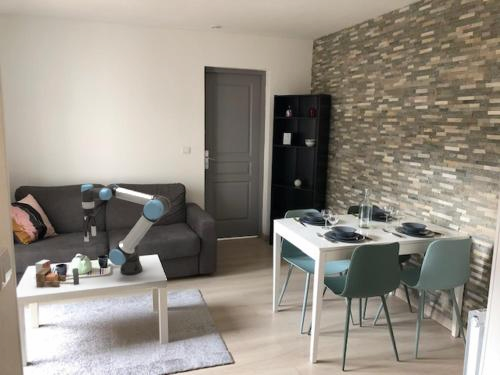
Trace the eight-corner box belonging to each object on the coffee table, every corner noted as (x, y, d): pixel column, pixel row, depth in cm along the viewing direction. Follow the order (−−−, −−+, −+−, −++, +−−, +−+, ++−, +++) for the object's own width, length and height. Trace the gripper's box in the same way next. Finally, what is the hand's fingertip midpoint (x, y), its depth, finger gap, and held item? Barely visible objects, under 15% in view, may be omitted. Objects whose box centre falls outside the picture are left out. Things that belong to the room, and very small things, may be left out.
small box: (43, 278, 278) (42, 263, 276) (36, 278, 279) (34, 263, 277) (51, 274, 286) (50, 260, 284) (44, 273, 287) (43, 259, 285)
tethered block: (80, 281, 273) (79, 267, 272) (77, 285, 267) (76, 270, 266) (49, 282, 273) (47, 267, 271) (44, 285, 267) (43, 270, 265)
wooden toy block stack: (66, 280, 275) (65, 267, 274) (58, 287, 265) (57, 274, 263) (44, 280, 275) (43, 267, 274) (36, 287, 264) (35, 274, 263)
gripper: (89, 203, 288) (91, 233, 292) (75, 211, 264) (77, 243, 267) (100, 203, 288) (102, 233, 292) (87, 211, 264) (89, 243, 267)
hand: (90, 238), depth 280 cm, fingers open, 13 cm apart
